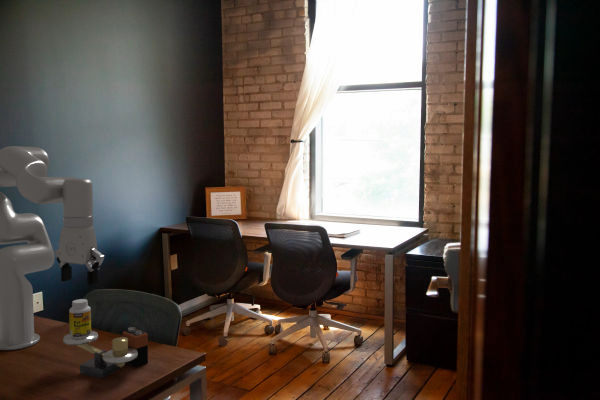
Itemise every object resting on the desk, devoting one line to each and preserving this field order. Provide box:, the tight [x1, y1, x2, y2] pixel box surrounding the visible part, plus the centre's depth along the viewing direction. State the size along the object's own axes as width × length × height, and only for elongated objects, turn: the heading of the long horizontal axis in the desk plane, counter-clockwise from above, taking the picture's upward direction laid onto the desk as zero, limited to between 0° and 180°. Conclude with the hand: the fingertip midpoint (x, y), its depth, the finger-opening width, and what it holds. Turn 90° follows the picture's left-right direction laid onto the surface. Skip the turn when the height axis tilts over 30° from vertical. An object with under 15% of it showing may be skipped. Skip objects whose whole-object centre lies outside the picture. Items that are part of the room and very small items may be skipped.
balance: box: [62, 330, 138, 379], centre depth 134 cm, size 23×9×9 cm, turn 69°
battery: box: [122, 326, 149, 368], centre depth 139 cm, size 4×7×10 cm, turn 52°
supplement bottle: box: [68, 298, 92, 339], centre depth 135 cm, size 6×6×10 cm
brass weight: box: [111, 336, 128, 357], centre depth 131 cm, size 4×4×4 cm
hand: (79, 282), depth 135 cm, fingers open, 9 cm apart
